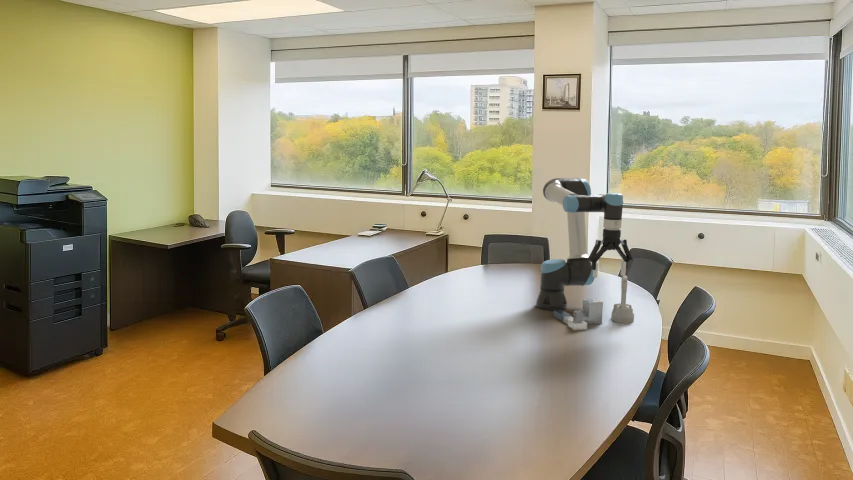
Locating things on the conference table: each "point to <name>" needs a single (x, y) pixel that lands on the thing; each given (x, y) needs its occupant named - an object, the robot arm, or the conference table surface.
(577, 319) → the blue-grey beige mallet
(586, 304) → the grey textured cube
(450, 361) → the conference table surface
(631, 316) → the engine component
